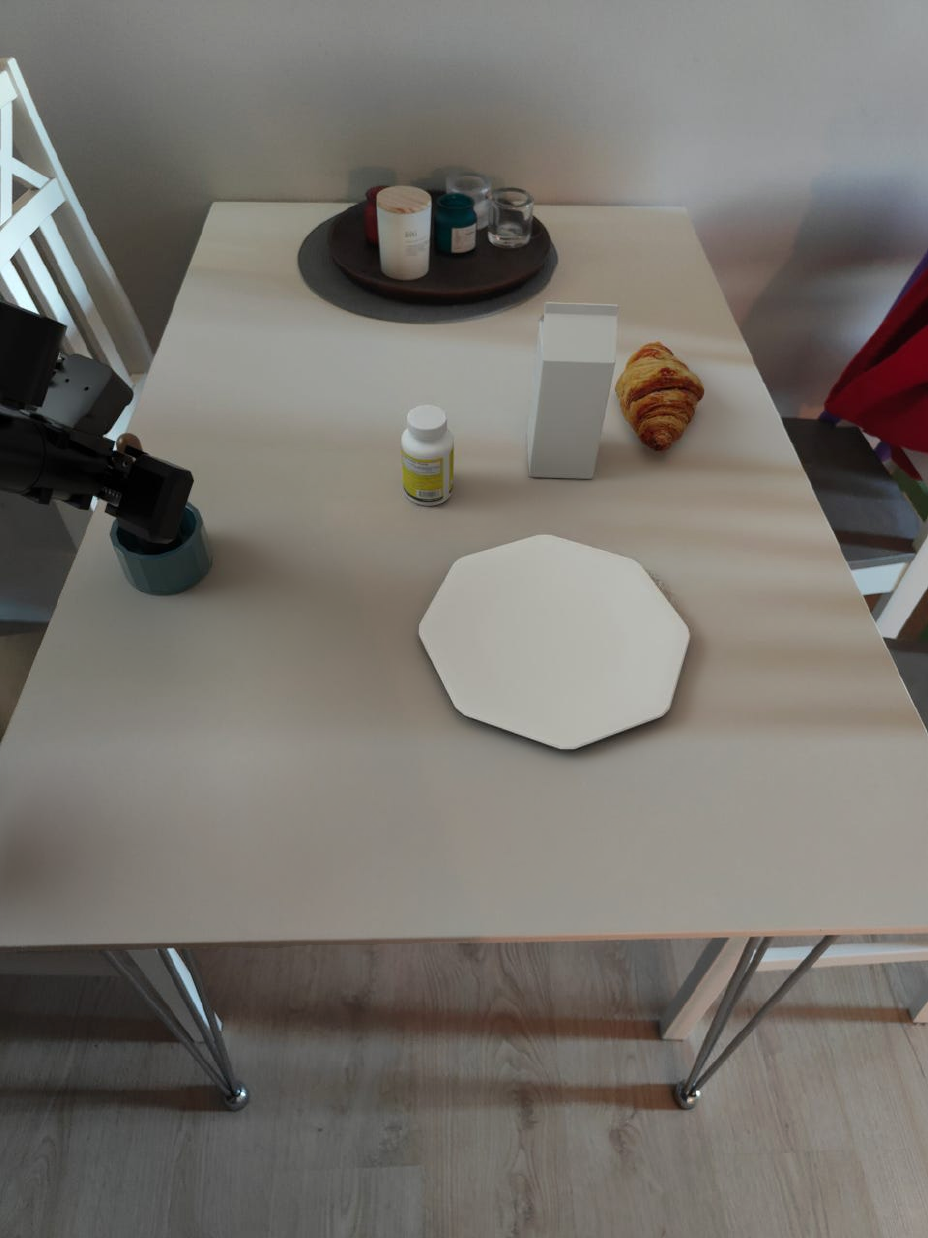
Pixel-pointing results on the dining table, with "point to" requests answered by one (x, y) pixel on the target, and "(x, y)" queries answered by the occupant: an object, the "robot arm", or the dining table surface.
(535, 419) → the milk carton
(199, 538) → the teal faceted cup
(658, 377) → the croissant
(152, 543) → the coffee tamper
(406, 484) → the supplement bottle
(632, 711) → the plate
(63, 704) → the dining table surface
